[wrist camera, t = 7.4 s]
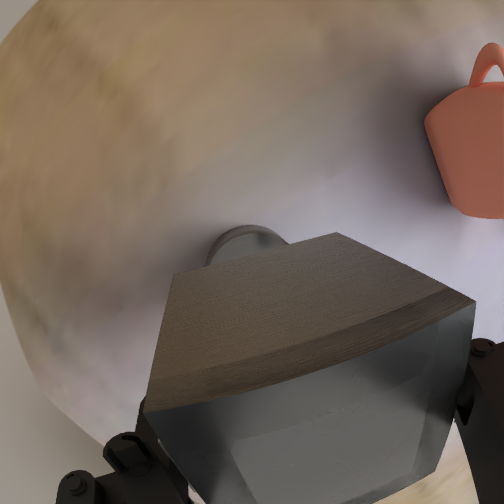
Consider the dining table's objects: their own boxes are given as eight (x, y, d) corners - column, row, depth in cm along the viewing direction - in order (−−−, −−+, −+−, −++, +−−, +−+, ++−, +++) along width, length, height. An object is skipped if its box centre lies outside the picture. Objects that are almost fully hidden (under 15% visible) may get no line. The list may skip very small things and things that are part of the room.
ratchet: (196, 237, 21) (192, 269, 14) (282, 215, 21) (319, 236, 14) (256, 431, 26) (270, 488, 19) (317, 413, 26) (343, 465, 20)
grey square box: (174, 274, 12) (142, 412, 5) (336, 232, 13) (475, 301, 5) (219, 401, 14) (239, 542, 7) (351, 362, 15) (434, 471, 7)
